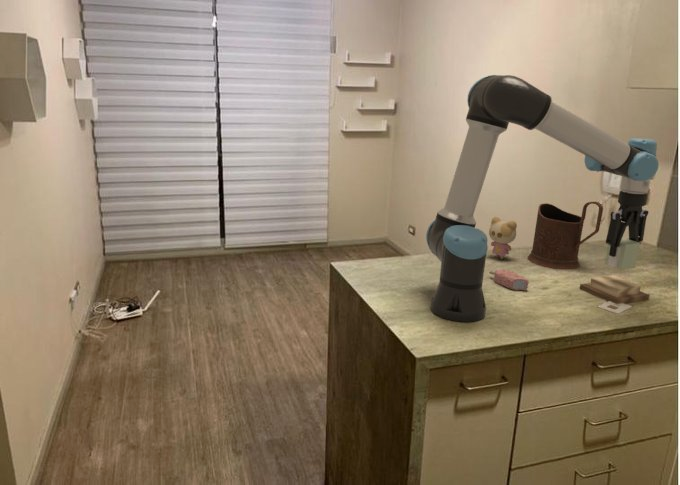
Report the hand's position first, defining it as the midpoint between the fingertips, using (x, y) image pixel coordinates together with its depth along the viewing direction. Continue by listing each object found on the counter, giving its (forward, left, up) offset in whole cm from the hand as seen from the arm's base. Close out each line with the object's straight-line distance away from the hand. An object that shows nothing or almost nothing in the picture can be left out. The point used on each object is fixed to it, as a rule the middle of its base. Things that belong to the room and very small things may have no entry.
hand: (620, 264), depth 168 cm
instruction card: (-9, -8, -10) cm, 16 cm away
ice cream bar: (-28, +18, -10) cm, 34 cm away
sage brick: (0, 0, 0) cm, 0 cm away
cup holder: (+7, +29, -10) cm, 31 cm away
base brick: (0, 0, -10) cm, 10 cm away
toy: (-11, +41, -10) cm, 44 cm away
